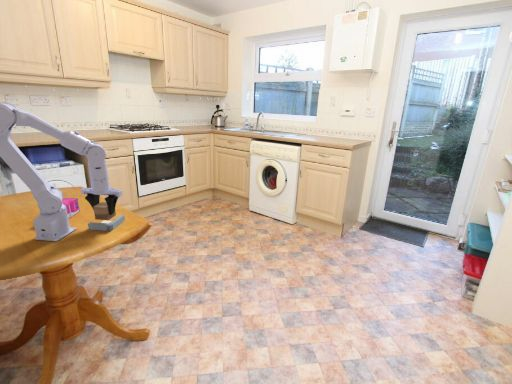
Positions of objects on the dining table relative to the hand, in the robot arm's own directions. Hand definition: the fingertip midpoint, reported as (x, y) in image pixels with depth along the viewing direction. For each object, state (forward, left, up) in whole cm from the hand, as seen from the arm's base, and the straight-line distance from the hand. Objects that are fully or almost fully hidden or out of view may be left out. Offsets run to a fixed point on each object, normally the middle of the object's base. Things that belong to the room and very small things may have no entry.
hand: (105, 213), depth 102 cm
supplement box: (+10, +21, -2) cm, 23 cm away
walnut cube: (0, 0, -2) cm, 2 cm away
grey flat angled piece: (0, 0, -5) cm, 5 cm away
